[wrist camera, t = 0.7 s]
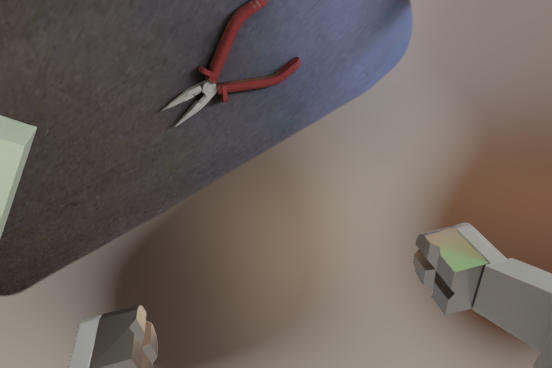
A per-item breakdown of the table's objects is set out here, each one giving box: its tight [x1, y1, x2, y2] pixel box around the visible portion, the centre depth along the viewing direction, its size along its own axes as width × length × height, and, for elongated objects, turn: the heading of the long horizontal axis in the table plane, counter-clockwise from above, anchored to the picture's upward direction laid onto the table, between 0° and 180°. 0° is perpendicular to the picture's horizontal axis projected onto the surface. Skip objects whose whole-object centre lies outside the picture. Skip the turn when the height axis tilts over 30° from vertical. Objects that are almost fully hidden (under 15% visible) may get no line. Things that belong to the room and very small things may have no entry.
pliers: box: [162, 0, 301, 127], centre depth 51 cm, size 11×20×3 cm, turn 124°
